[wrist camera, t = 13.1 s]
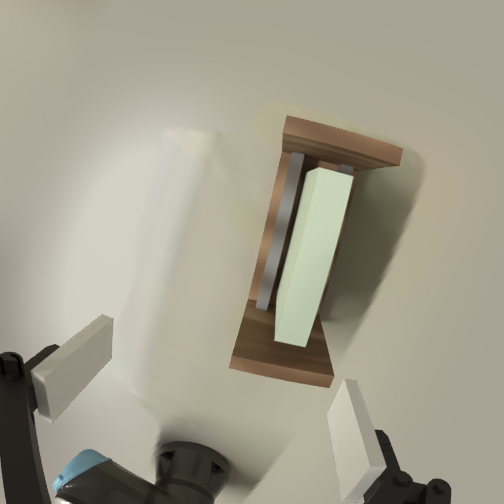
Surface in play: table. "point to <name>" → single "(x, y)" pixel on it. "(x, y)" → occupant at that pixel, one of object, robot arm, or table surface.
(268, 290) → the wooden rail bracket
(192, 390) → the table surface
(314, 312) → the door panel
